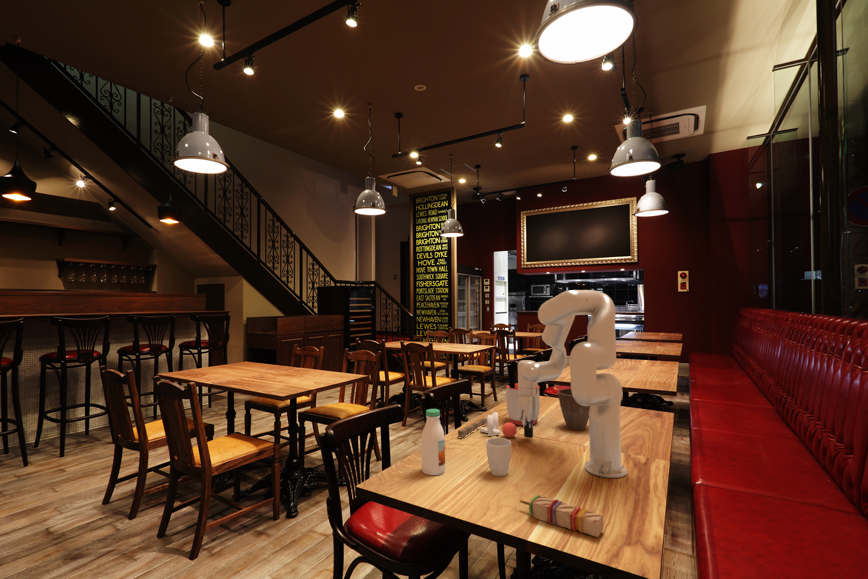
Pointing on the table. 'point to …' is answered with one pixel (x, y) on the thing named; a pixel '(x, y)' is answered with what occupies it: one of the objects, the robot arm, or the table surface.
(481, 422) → the brown textured bar
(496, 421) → the pin
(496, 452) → the cup
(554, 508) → the skewer
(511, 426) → the ball
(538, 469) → the table surface
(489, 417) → the pin
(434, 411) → the milk bottle
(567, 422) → the plant pot
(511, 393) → the citrus juicer
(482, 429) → the front pin
